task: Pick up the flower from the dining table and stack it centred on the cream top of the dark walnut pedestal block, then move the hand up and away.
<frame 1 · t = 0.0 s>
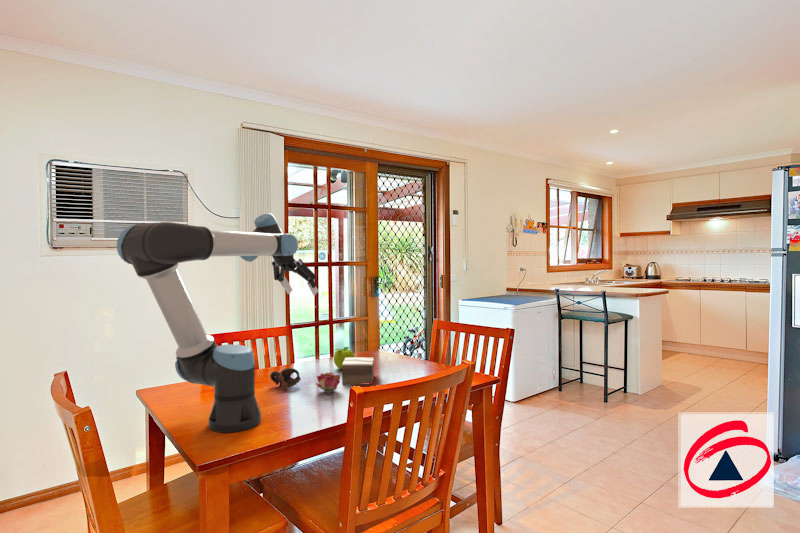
hand: (302, 292, 187), 36 cm above the table, tool tilted 35°, fingers open, 13 cm apart
pedestal: (358, 380, 186), on the table
pottery mug: (285, 387, 177), on the table
flower: (328, 393, 170), on the table
fruit: (344, 369, 204), on the table
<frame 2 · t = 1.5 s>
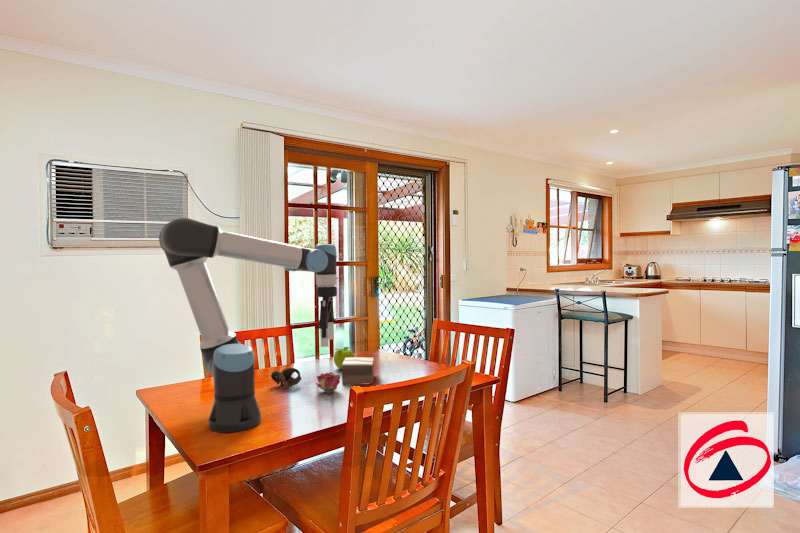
hand: (327, 342, 169), 19 cm above the table, tool pointing down, fingers open, 13 cm apart
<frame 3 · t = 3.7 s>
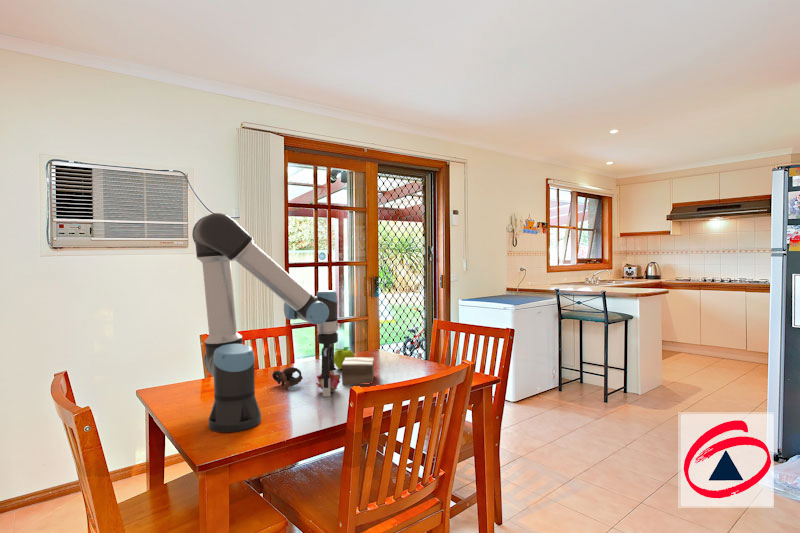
hand: (328, 391, 170), 0 cm above the table, tool pointing down, fingers open, 9 cm apart
flower: (328, 392, 170), on the table, touching gripper
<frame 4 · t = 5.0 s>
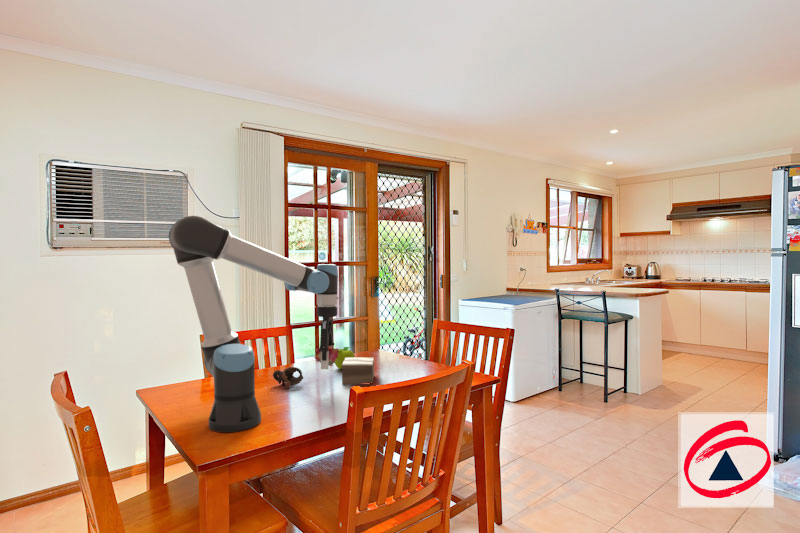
hand: (326, 365, 169), 10 cm above the table, tool pointing down, fingers closed on flower, 9 cm apart
flower: (326, 367, 169), point 10 cm above the table, touching gripper
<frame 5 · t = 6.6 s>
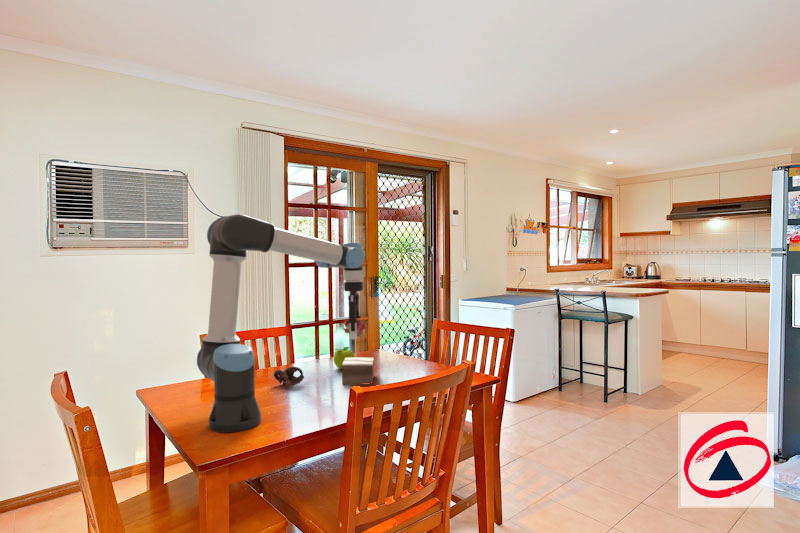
hand: (354, 336, 183), 18 cm above the table, tool pointing down, fingers closed on flower, 9 cm apart
flower: (354, 337, 183), point 18 cm above the table, touching gripper
when the fingers open (10 cm above the table, at t = 8.8 s): flower drops 2 cm, resting on pedestal.
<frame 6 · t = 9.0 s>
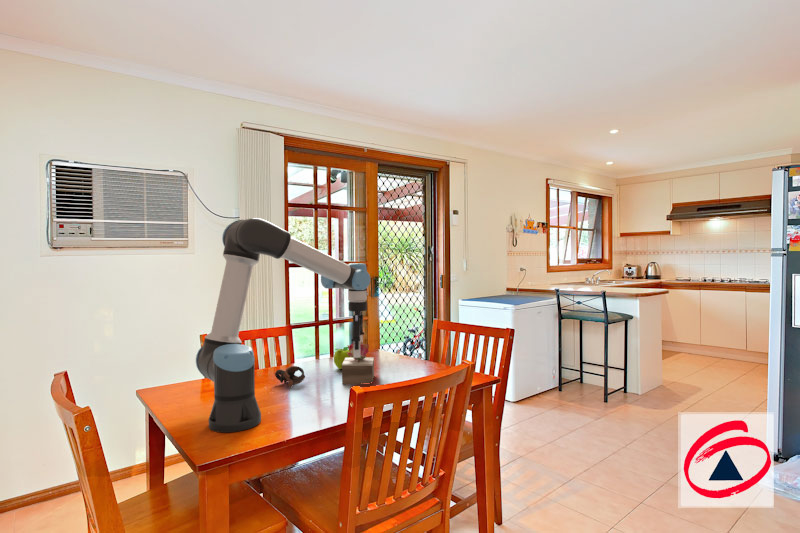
hand: (358, 354, 185), 11 cm above the table, tool pointing down, fingers open, 12 cm apart
flower: (358, 361, 185), point 8 cm above the table, touching pedestal
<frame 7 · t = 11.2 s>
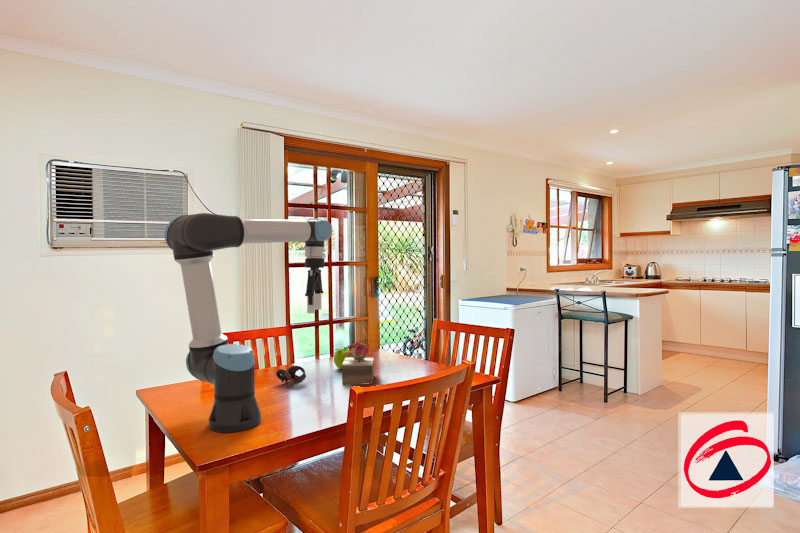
hand: (314, 311, 180), 29 cm above the table, tool pointing down, fingers open, 13 cm apart
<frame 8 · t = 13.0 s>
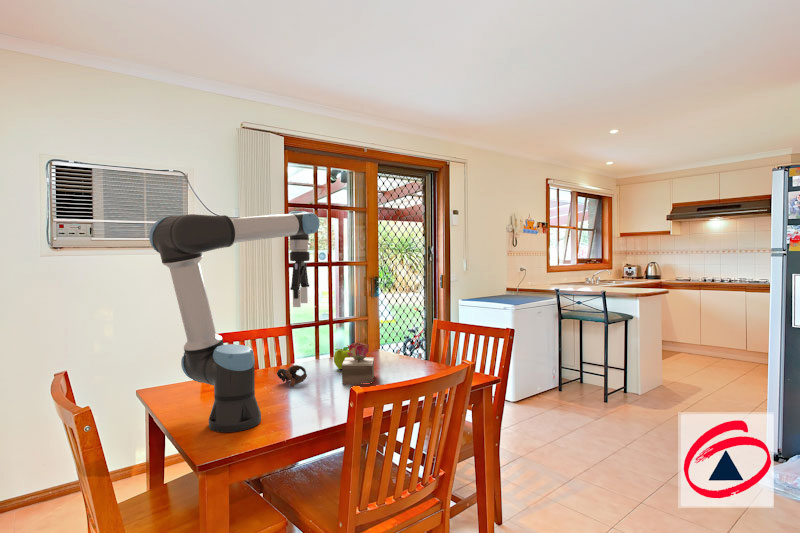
hand: (300, 305, 178), 32 cm above the table, tool pointing down, fingers open, 13 cm apart
at the end: flower inside the target area on the pedestal (0.2 cm from its centre), point 7.8 cm above the pedestal's base; flower tilted 0°; the gripper is holding nothing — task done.
